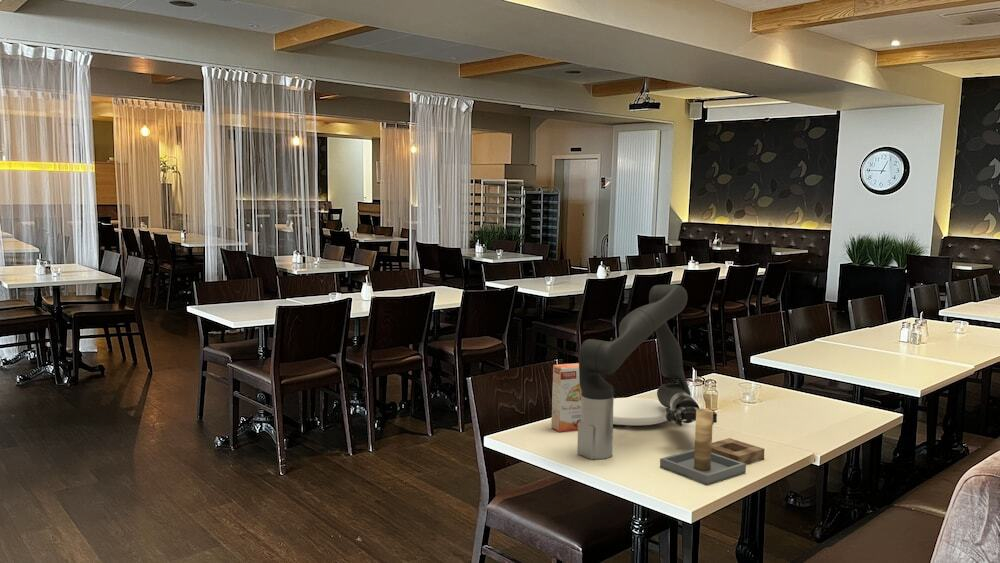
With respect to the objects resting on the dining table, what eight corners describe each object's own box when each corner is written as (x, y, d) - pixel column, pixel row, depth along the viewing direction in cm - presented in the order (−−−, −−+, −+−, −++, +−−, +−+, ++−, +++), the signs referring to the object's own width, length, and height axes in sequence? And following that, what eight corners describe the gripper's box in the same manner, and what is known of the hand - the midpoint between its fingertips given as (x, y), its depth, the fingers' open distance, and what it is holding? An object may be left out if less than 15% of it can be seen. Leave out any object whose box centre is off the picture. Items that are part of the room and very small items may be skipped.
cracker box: (559, 433, 235) (560, 368, 233) (550, 427, 240) (551, 364, 238) (598, 428, 240) (599, 364, 238) (588, 423, 246) (589, 361, 244)
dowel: (703, 472, 199) (705, 413, 198) (690, 467, 203) (692, 410, 201) (714, 469, 202) (716, 411, 200) (701, 464, 205) (703, 407, 204)
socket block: (737, 467, 205) (738, 456, 205) (702, 455, 215) (703, 445, 214) (764, 459, 212) (764, 448, 212) (728, 447, 222) (729, 438, 221)
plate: (590, 415, 239) (588, 395, 265) (592, 434, 239) (590, 413, 266) (678, 409, 236) (668, 389, 262) (680, 429, 236) (669, 407, 263)
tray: (707, 485, 191) (707, 475, 191) (659, 467, 204) (660, 458, 204) (745, 472, 200) (745, 463, 200) (698, 456, 213) (698, 448, 213)
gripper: (661, 394, 227) (671, 409, 211) (708, 395, 226) (721, 410, 210) (660, 418, 228) (670, 434, 211) (707, 419, 227) (720, 435, 211)
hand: (695, 422), depth 211 cm, fingers open, 8 cm apart
